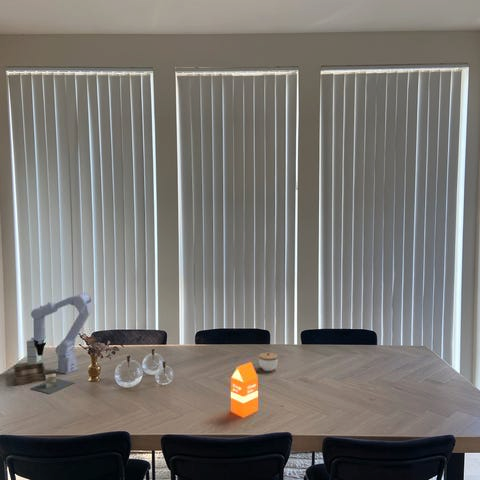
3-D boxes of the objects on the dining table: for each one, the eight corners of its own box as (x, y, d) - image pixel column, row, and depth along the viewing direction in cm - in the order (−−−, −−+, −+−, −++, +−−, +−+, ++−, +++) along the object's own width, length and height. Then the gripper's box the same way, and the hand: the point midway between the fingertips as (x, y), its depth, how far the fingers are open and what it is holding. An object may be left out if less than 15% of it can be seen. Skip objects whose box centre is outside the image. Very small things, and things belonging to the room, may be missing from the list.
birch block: (55, 383, 191) (55, 373, 191) (56, 386, 187) (56, 376, 187) (45, 384, 189) (45, 375, 189) (46, 388, 185) (46, 378, 185)
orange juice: (230, 411, 160) (230, 364, 160) (245, 404, 166) (245, 359, 166) (243, 417, 154) (243, 369, 154) (258, 410, 161) (258, 364, 160)
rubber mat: (74, 383, 191) (74, 382, 191) (49, 394, 179) (49, 393, 179) (55, 379, 197) (55, 378, 197) (30, 389, 185) (30, 388, 185)
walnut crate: (43, 368, 213) (42, 362, 213) (45, 380, 196) (45, 373, 196) (14, 373, 206) (14, 367, 206) (14, 386, 189) (14, 379, 189)
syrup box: (36, 365, 218) (36, 340, 218) (26, 365, 219) (26, 340, 218) (42, 361, 224) (41, 337, 224) (32, 361, 224) (32, 337, 224)
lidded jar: (257, 371, 205) (256, 354, 205) (260, 365, 216) (260, 348, 216) (276, 373, 203) (276, 356, 203) (279, 366, 213) (279, 350, 213)
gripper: (30, 327, 214) (31, 351, 214) (31, 333, 202) (32, 358, 202) (44, 325, 218) (45, 349, 218) (46, 331, 205) (46, 356, 205)
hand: (39, 353), depth 210 cm, fingers open, 7 cm apart
